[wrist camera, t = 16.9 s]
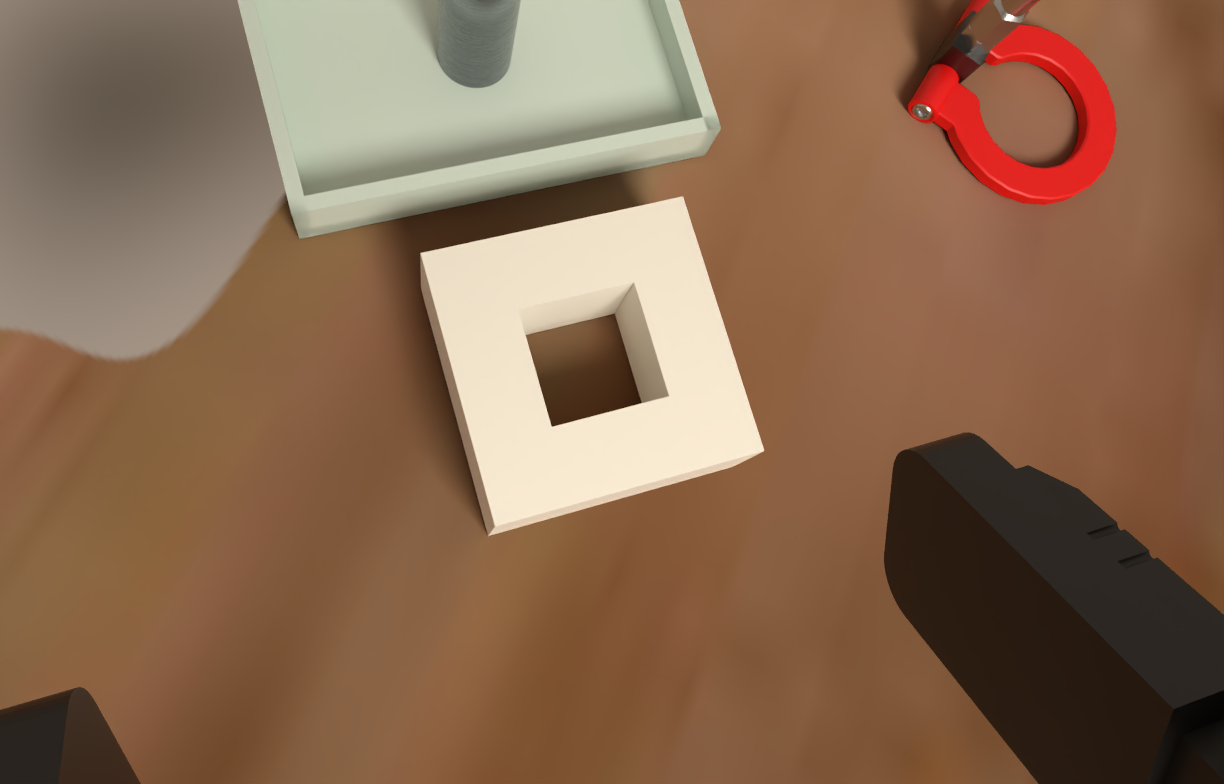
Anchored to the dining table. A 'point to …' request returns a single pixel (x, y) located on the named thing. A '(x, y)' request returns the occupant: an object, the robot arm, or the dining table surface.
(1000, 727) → the robot arm
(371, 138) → the tray
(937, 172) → the dining table surface
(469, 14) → the metal pin
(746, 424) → the socket block
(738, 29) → the dining table surface
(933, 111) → the tow hook
